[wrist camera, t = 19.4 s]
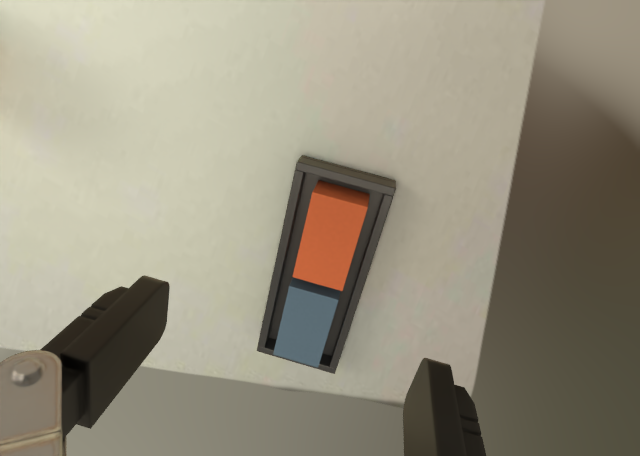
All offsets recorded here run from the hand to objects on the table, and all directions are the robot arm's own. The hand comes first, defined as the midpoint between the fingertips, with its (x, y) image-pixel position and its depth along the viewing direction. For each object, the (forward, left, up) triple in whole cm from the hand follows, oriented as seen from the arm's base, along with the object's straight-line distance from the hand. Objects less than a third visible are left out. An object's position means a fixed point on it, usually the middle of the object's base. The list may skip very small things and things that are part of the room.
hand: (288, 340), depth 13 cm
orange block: (+4, +8, -27) cm, 29 cm away
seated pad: (+10, +16, -27) cm, 33 cm away
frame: (+7, +12, -28) cm, 31 cm away
